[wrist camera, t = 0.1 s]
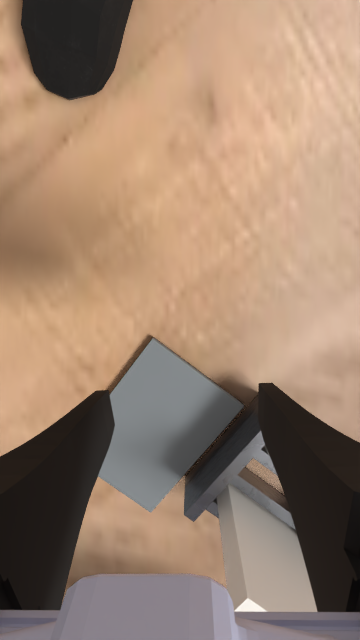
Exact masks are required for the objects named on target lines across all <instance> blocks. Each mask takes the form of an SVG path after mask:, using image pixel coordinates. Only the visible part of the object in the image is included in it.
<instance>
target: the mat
mask: <svg viewBox="0 0 360 640" xmlns="http://www.w3.org/2000/svg"><path fill="white" fill-rule="evenodd" d="M110 400H111V406H112V411H113V416H114V422H115V427H114V432H113V436H112V440H111V443H110V446H109V449H108V452H107V454H106V457H105V459H104V462H103V464H102V467H101V469H100V472H99V475H98V476H99V477H100V478H101V479H103V480H104V481H106V482H107V483H109V484H110V485H112V486H113V487H114V488H116V489H117V490H119V491H120V492H122V493H123V494H125V495H126V496H128V497H129V498H130V499H132V500H133V501H135V502H136V503H138V504H139V505H141V506H142V507H143V508H145V509H146V510H148V511H149V512H152V511H153V509H154V508H155V507H156V506H157V505H158V504H159V503H160V502H161V500H162V499H163V498H164V497H165V496H166V495H167V494H168V492H169V491H170V490H171V489H172V488H173V487H174V486H175V484H176V483H177V482H178V481H179V480H180V479H181V478H182V476H183V475H184V474H185V473H186V472H187V471H188V470H189V469H190V467H191V466H192V465H193V464H194V463H195V462H196V461H197V459H198V458H199V457H200V456H201V455H202V454H203V453H204V451H205V450H206V449H207V448H208V447H209V446H210V445H211V443H212V442H213V441H214V440H215V439H216V438H217V437H218V435H219V434H220V433H221V432H222V431H223V430H224V429H225V428H226V426H227V425H228V424H229V423H230V422H231V421H232V420H233V418H234V417H235V416H236V415H237V414H238V413H239V412H240V410H241V409H242V408H243V407H244V405H243V403H241V402H240V401H239V400H237V399H236V398H235V397H233V396H232V395H231V394H229V393H228V392H227V391H225V390H224V389H222V388H221V387H220V386H218V385H217V384H216V383H214V382H213V381H212V380H210V379H209V378H208V377H206V376H205V375H204V374H202V373H201V372H200V371H198V370H197V369H196V368H194V367H193V366H192V365H190V364H189V363H188V362H186V361H185V360H183V359H182V358H181V357H179V356H178V355H177V354H175V353H174V352H173V351H171V350H170V349H169V348H167V347H166V346H165V345H163V344H162V343H161V342H159V341H158V340H157V339H155V338H154V337H153V339H152V340H151V341H150V342H149V344H148V345H147V346H146V348H145V349H144V350H143V352H142V353H141V354H140V356H139V357H138V358H137V360H136V361H135V362H134V364H133V365H132V366H131V367H130V369H129V370H128V371H127V373H126V374H125V375H124V377H123V378H122V379H121V381H120V382H119V383H118V385H117V386H116V387H115V388H114V390H113V391H112V392H111V394H110Z"/></svg>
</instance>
